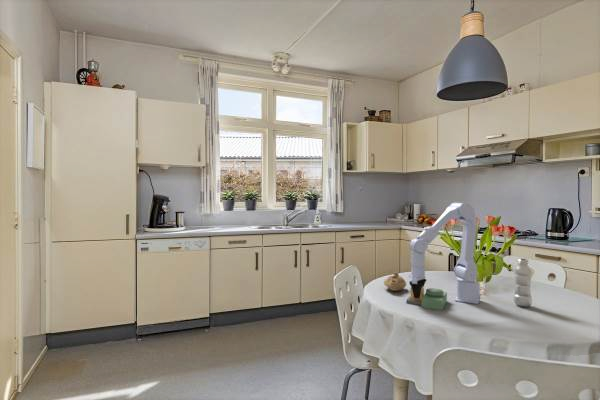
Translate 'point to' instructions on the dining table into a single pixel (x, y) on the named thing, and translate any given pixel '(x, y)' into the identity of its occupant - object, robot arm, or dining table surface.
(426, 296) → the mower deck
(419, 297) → the chute block
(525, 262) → the plastic bottle
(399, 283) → the oil lamp
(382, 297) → the dining table surface
